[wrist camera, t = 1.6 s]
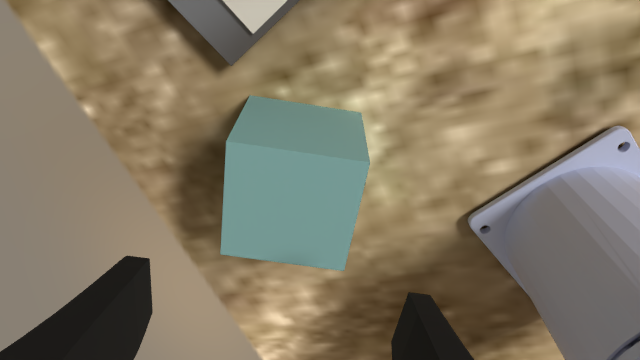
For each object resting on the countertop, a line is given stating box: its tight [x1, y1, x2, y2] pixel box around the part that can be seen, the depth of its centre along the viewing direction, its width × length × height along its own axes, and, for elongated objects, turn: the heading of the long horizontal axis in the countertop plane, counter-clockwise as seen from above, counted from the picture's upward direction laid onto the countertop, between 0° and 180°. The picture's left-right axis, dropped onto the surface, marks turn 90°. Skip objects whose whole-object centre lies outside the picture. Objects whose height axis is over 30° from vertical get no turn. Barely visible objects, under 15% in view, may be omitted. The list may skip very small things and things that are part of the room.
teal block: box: [220, 95, 370, 271], centre depth 18 cm, size 5×5×5 cm
